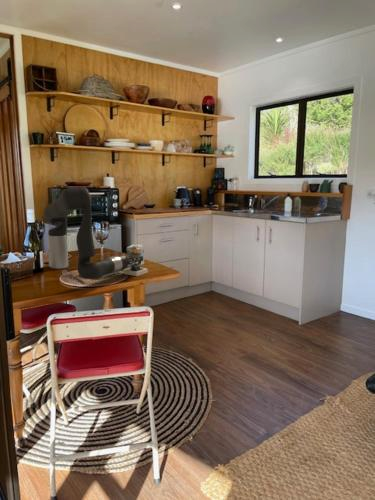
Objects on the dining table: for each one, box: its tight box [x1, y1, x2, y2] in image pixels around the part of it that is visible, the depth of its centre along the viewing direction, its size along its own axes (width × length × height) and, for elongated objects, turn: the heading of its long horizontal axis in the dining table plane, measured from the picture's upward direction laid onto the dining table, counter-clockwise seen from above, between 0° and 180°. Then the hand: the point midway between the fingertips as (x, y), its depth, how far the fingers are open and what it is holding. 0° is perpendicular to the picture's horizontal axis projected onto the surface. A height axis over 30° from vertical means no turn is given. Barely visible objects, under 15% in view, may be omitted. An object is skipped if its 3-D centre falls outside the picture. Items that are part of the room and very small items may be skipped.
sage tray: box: [98, 271, 119, 280], centre depth 187 cm, size 13×13×2 cm
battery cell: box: [129, 246, 141, 272], centre depth 189 cm, size 5×5×14 cm
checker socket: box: [122, 266, 149, 277], centre depth 190 cm, size 9×9×2 cm
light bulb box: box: [126, 243, 145, 268], centre depth 207 cm, size 11×7×11 cm, turn 168°
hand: (138, 257), depth 191 cm, fingers closed on battery cell, 4 cm apart
